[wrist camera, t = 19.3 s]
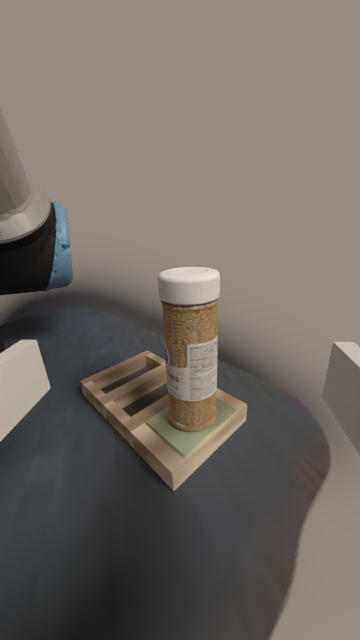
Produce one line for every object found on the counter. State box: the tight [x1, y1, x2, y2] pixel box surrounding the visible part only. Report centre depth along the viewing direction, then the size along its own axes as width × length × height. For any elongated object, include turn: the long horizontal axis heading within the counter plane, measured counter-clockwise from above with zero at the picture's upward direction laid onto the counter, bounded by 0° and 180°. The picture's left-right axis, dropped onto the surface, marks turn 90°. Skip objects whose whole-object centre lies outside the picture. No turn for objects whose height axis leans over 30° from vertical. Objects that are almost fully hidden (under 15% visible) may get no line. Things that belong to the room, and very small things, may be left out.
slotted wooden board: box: [80, 351, 247, 491], centre depth 27 cm, size 16×10×2 cm, turn 44°
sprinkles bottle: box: [158, 267, 220, 432], centre depth 20 cm, size 5×5×14 cm
